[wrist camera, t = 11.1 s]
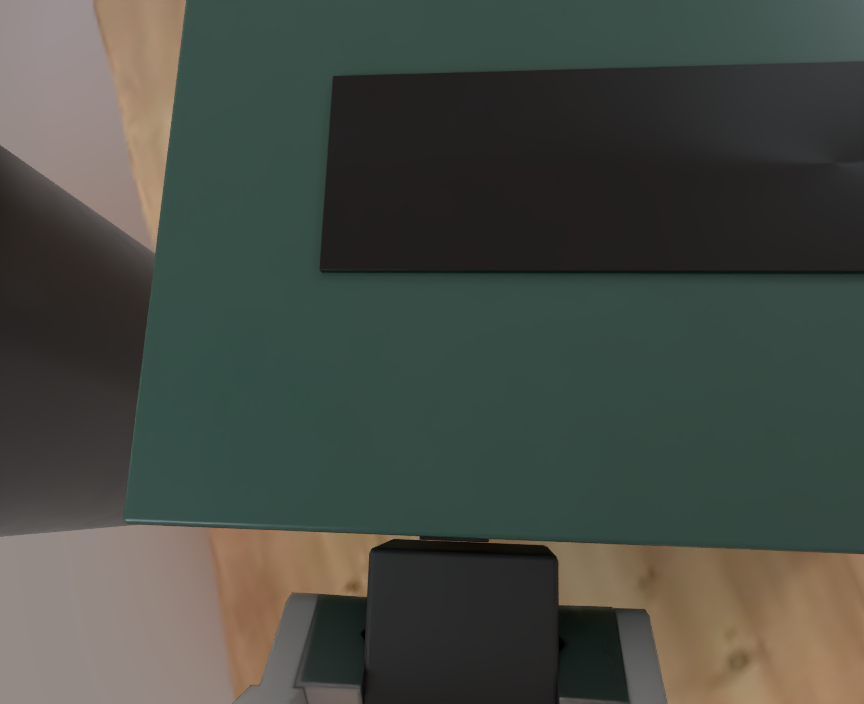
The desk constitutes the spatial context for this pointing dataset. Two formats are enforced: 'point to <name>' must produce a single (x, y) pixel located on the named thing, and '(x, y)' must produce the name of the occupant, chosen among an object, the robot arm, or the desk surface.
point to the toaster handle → (461, 624)
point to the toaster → (512, 273)
